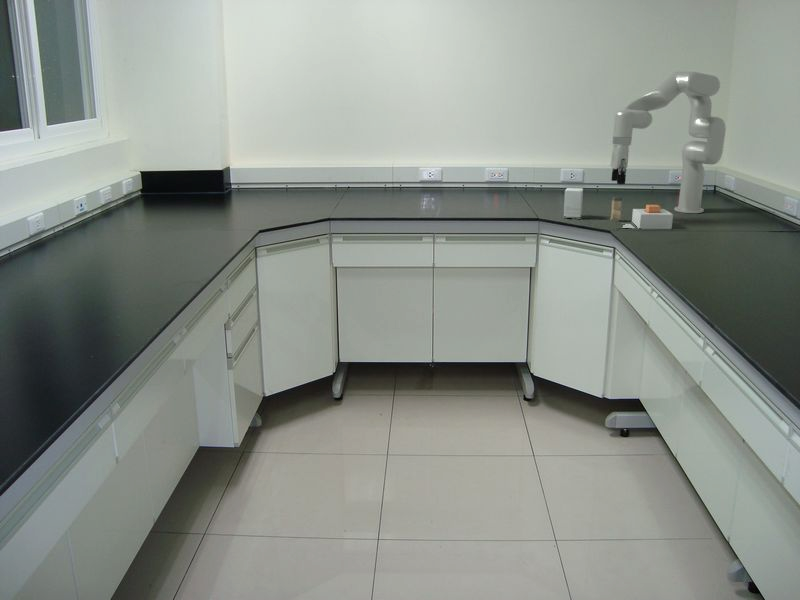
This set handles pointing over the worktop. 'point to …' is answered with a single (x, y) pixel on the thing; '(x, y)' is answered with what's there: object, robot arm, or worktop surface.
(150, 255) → the worktop surface
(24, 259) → the worktop surface
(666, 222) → the box
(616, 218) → the tan wooden block
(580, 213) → the supplement box
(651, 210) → the orange cube block
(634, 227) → the pad
